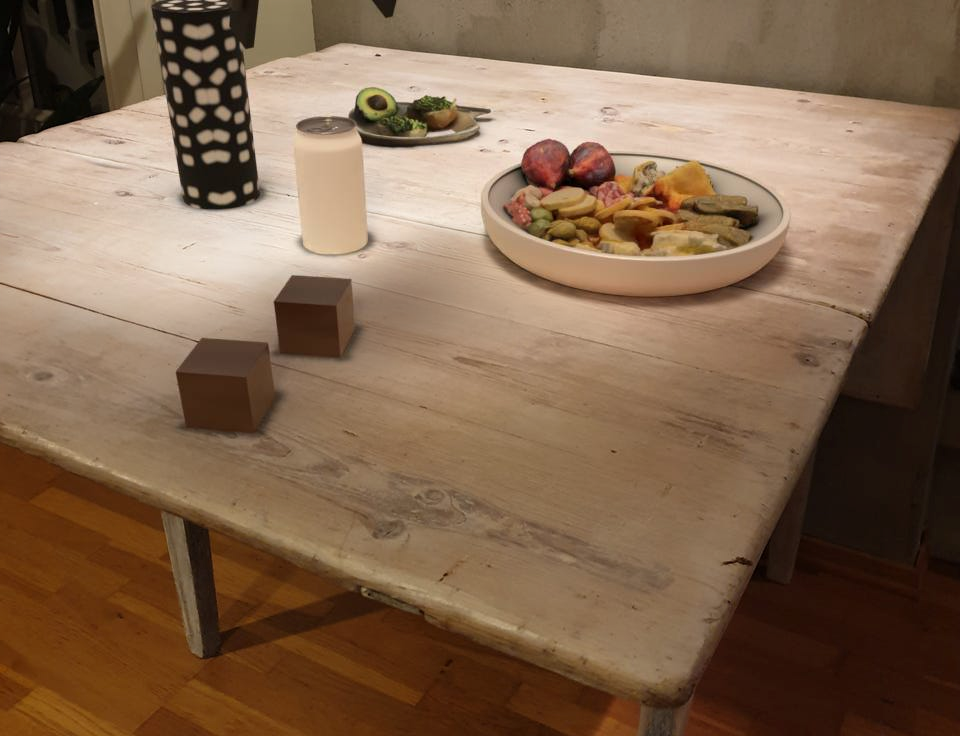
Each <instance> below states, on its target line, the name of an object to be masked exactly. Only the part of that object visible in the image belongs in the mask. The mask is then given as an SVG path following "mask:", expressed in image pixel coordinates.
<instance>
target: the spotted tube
mask: <svg viewBox="0 0 960 736" xmlns="http://www.w3.org/2000/svg"><path fill="white" fill-rule="evenodd" d="M150 7H151V14H152V19H153V20H152V21H153V27H154V32H155V38H156V45H157V50H158V56H159V57H158V58H159V62H160V68H161V74H162V80H163V87H164V92H165V98H166V105H167V111H168V117H169V123H170V129H171V136H172V141H173V146H174V154H175V160H176V164H177V171H178V176H179V184H180V190H181V194H182V195H181V196H182V200H183V203H185V204H186V205H187V206H189V207H192V208H195V209H201V210H209V211H211V210H212V211H213V210H214V211H215V210H216V211H217V210H219V211H220V210H230V209H236V208H241V207H244V206H247V205H250V204H252V203H253V202H255V201H257V200H258V199H259V198H260V196H261V190H260V181H259V175H258V166H257V165H258V163H257V156H256V149H255V142H254V141H255V139H254V131H253V123H252V114H251V106H250V105H251V104H250V97H249V89H248V80H247V74H246V64H245V55H244V47H243V45H242V44H241V42H240V41H239V39H238V38H237V37H236V35H235V34H234V32H233V31H232V30H231V28H230V27H229V21H230V9H231V6H230V5H229V4H228V2H227V1H226V0H158V1H155V2H153V3H151V5H150Z"/></svg>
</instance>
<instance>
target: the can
mask: <svg viewBox="0 0 960 736" xmlns="http://www.w3.org/2000/svg"><path fill="white" fill-rule="evenodd" d="M356 125H357V124H356V122H355V121H354V120H352V119H349V118H348V117H345V116H340V115H339V116H338V115H321V116H313V117H308V118H307V117H306V118H304V119H301V120H300V121H298V122H297V123H296V124H295V128H296V133H295V134H294V138H293V142H292V143H293V144H292V145H293V156H294V157H293V158H294V168H295V169H294V170H295V179H296V190H297V199H298V210H299V218H300V229H301V238H302V245H303V247H304V248H305V249H307V250H308V251H310V252H312V253H315V254H316V253H317V254H321V255H345V254H349V253H353V252H356V251H359V250H361V249H363V248H364V247H365V246H366V245H367V244H368V237H369V236H368V220H367V219H368V218H367V217H368V216H367V202H366V201H367V200H366V183H365V182H366V181H365V168H364V167H365V165H364V151H363V141H362V140H361V137H360V135H359V133H358V131H357V129H356Z"/></svg>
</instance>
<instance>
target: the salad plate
mask: <svg viewBox="0 0 960 736" xmlns="http://www.w3.org/2000/svg"><path fill="white" fill-rule="evenodd" d="M354 102H355V103H354V104H355V105H354V108H352V109H351V110H350V111H349V113H348V117H347V118H349V119H352V120H354V121H355V122H356V124H357V125H356V129H357V131H358V133H359V135H360V137H361V140H362V143H366V144H369V145H373V146H379V147H380V146H381V147H414V146H423V145H424V146H426V145H436V144H443V143H449V142H456V141H463V140H465V139H468V138H470V137H472V136H473V135H475V134H476V133H477V132H478V131H479V130H480V129H481V127H480V125H479V123H478V121H476V119H475V118H478V117H479V116H484V115H488V114H491V112H492V109H491V108H484V107H476V106H475V107H474V106H465V105H459V104H456V103H457V98H454V99H453V100H452V101H449V100H448V99H447V98H446V96H445V95H443V96H442V97H440V96H432V95H424V96H423V97H420V98H419V99H414V100H413V102H409V101H397V100H396V99H395V97H394V96H393V95H392V94H391V93H389V92H388V91H387V90H384V89H382V88H379V87H375V86H371V87H365V88H362V89H361V90H360V91H359V92H358V93H357V95H356V96H355V101H354ZM445 130H451V131H453V132H454V133H450V134H449V133H447V134H442V135H434V136H426V135H427V134H429V133H432V132H437V131H439V132H441V131H445Z"/></svg>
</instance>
